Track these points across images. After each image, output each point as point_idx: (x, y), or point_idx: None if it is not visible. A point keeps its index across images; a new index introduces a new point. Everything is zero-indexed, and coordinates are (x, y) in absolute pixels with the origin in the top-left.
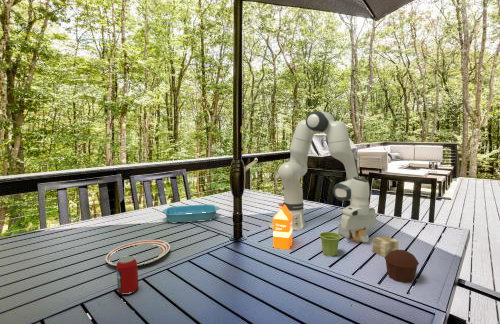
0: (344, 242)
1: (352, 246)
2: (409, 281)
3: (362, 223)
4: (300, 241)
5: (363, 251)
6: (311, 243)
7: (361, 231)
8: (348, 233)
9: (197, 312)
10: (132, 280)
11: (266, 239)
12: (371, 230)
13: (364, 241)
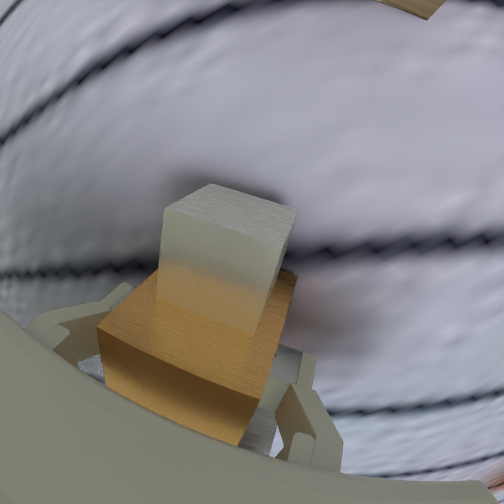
0: (386, 370)
1: (447, 272)
2: None
3: (78, 473)
4: (488, 473)
5: (496, 109)
6: (501, 448)
7: (194, 355)
8: (275, 427)
9: None
10: None
11: (499, 500)
12: (19, 298)
13: (280, 208)
